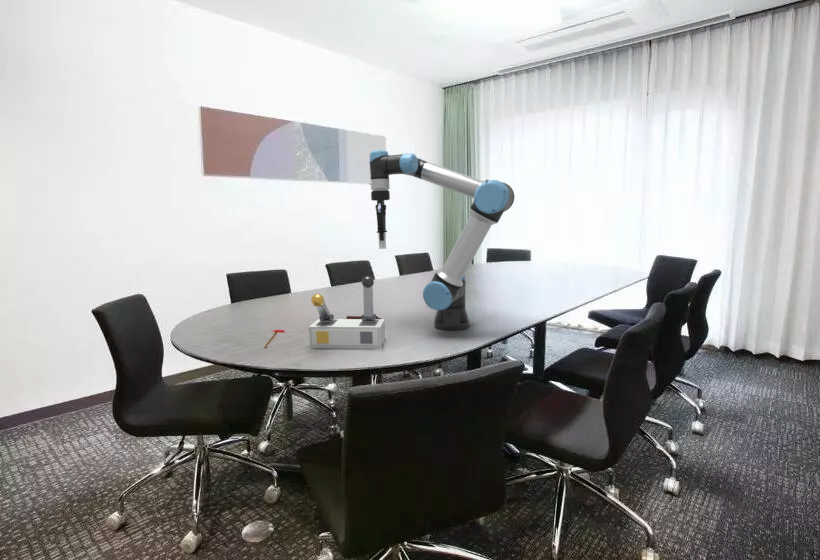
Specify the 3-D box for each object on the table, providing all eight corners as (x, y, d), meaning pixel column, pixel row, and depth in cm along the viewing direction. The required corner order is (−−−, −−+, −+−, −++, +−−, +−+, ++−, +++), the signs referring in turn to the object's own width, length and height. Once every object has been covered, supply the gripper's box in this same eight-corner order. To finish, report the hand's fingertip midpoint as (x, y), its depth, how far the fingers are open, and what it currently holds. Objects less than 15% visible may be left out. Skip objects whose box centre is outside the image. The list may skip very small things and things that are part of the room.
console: (385, 339, 171) (384, 318, 170) (380, 349, 159) (379, 326, 158) (319, 338, 173) (318, 318, 172) (309, 348, 161) (308, 326, 160)
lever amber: (334, 313, 167) (323, 291, 153) (332, 324, 165) (322, 302, 151) (321, 313, 168) (310, 291, 154) (320, 324, 166) (308, 302, 151)
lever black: (376, 319, 166) (375, 275, 164) (374, 322, 162) (373, 276, 160) (363, 319, 167) (362, 275, 164) (361, 322, 162) (360, 276, 160)
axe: (293, 331, 187) (271, 330, 188) (293, 329, 187) (270, 328, 188) (266, 350, 162) (241, 349, 163) (266, 347, 162) (240, 347, 163)
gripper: (373, 191, 186) (375, 247, 189) (368, 189, 173) (371, 250, 176) (391, 191, 185) (393, 247, 189) (387, 189, 173) (390, 249, 176)
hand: (382, 248), depth 183 cm, fingers closed
